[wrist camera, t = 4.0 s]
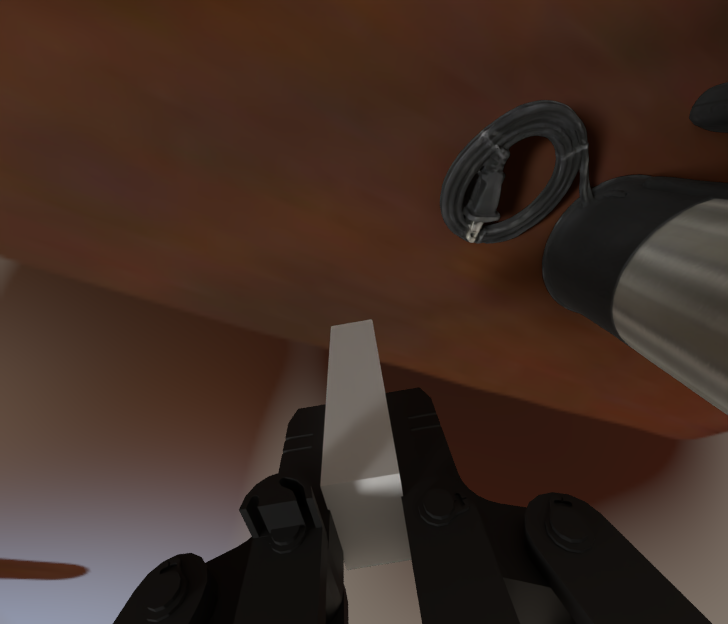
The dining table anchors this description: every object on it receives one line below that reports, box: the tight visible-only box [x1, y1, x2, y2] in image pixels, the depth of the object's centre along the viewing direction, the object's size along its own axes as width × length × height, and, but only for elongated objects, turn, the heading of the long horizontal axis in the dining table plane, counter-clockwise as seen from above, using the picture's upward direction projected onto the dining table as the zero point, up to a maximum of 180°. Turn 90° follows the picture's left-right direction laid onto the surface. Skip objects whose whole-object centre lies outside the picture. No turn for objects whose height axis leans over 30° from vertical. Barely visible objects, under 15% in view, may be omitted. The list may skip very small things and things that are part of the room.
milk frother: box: [440, 82, 728, 415], centre depth 15 cm, size 14×16×15 cm
